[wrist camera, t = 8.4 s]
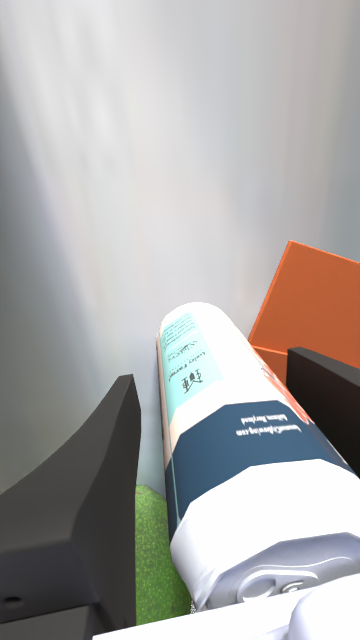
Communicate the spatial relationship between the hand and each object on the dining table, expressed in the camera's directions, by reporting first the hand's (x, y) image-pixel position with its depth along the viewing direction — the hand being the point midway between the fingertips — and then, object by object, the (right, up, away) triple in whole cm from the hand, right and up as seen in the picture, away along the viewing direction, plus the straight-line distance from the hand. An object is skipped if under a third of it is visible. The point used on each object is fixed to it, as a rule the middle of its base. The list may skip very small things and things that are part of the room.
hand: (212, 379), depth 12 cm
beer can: (-1, +2, +5) cm, 5 cm away
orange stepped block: (+7, 0, +6) cm, 9 cm away
